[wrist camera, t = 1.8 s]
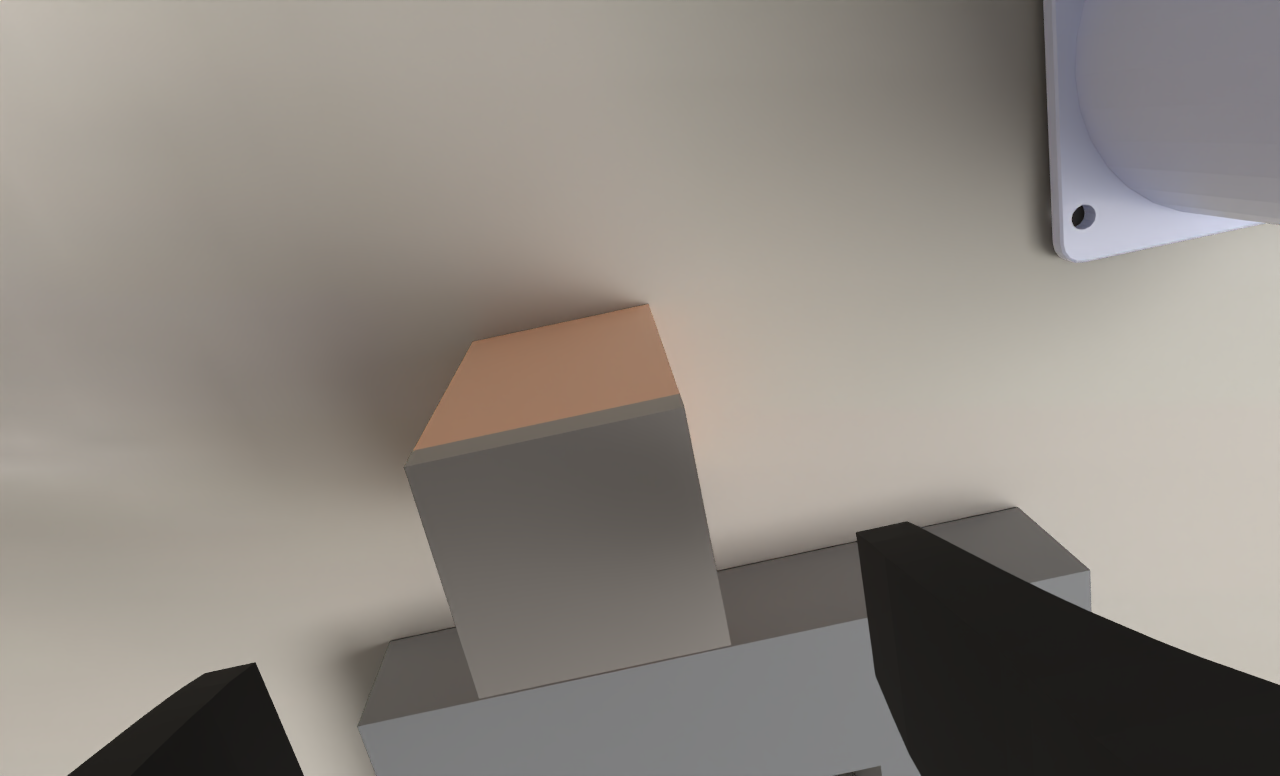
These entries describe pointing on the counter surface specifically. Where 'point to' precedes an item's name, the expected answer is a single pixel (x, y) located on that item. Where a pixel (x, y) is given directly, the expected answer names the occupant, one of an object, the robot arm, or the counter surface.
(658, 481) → the tan rectangular block
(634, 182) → the counter surface
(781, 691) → the outlet box
